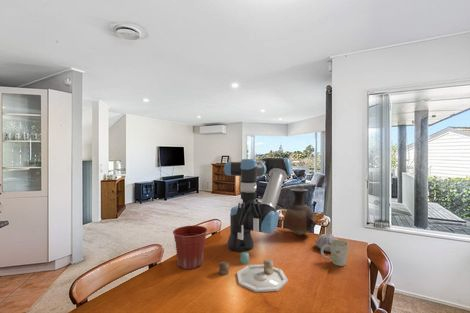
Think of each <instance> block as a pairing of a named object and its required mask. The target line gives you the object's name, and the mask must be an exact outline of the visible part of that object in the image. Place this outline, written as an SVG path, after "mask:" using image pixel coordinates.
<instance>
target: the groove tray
mask: <svg viewBox="0 0 470 313" xmlns="http://www.w3.org/2000/svg"><path fill="white" fill-rule="evenodd" d="M236 277H237V282H238V285H239V286H242V287H244V288H246V289H248V290H251V291H252V292H255V293H266V292H267V293H268V292H278V291H280V290H281V289H282V288H283V287H284V285H286V284H287V283H288V282H289V279H288V278H287V276H286V274H285V273H284V271H283V269H280V268H278V267H275V266H273V274H271V275H267V274H265V273H264V263H263V264H248V265H247V264H246V266H244V267H243V268H241V269H240V270H238V271H236Z"/></svg>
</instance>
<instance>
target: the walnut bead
mask: <svg viewBox="0 0 470 313" xmlns="http://www.w3.org/2000/svg"><path fill="white" fill-rule="evenodd" d="M218 265H219V266H218V267H219V268H218V269H219V271H218V273H219V275H220V276H227V275H228V274H229V262H228V261H221V262H219V264H218Z"/></svg>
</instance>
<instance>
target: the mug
mask: <svg viewBox="0 0 470 313" xmlns="http://www.w3.org/2000/svg"><path fill="white" fill-rule="evenodd" d="M349 244H350V243H348V242H347V241H345V240H341V239H338V240H331V241H330V245H324V246H323V247H322V248H321V249H320V253H321V256H322V257H324V258H325V259H327V260H328V259H329V260H331V262H332V263H333V264H334V265H336V266H338V267H339V266H340V267H343V266H346V264H347V258H348V251H349ZM326 247H328V248H331V252H330V255H331V256H327V255H326V254H325V253H324V252H325V251H324V249H325V248H326Z"/></svg>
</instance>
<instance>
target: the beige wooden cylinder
mask: <svg viewBox="0 0 470 313" xmlns="http://www.w3.org/2000/svg"><path fill="white" fill-rule="evenodd" d="M263 264H264V273H265V274H267V275H271V274H273V267H274V260H272V259H267V258H266V259H264V260H263Z"/></svg>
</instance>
